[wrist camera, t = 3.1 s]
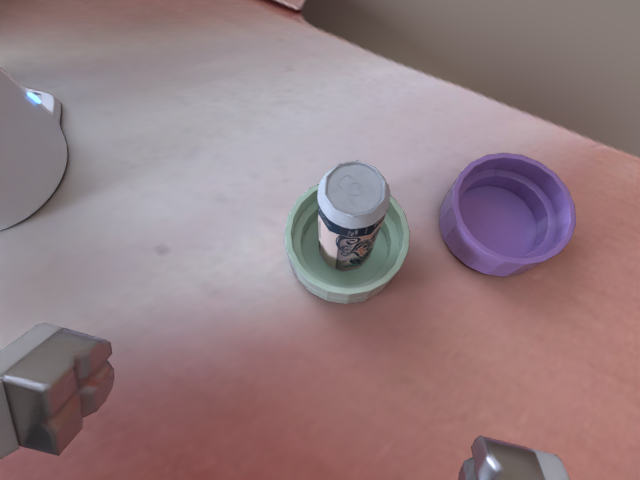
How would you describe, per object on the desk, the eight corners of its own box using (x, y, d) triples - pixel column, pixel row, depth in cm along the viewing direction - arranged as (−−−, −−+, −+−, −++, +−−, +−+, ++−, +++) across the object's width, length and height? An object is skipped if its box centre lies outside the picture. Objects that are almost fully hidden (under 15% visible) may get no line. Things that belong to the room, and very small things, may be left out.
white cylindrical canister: (347, 284, 35) (359, 237, 24) (307, 250, 36) (301, 190, 25) (381, 245, 36) (408, 184, 25) (341, 214, 37) (350, 141, 26)
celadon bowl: (269, 273, 36) (262, 259, 32) (320, 184, 39) (319, 160, 35) (371, 324, 34) (378, 316, 30) (415, 227, 37) (427, 207, 33)
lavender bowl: (421, 248, 37) (435, 230, 32) (459, 162, 40) (476, 136, 35) (528, 296, 35) (557, 285, 31) (559, 203, 38) (588, 181, 34)
